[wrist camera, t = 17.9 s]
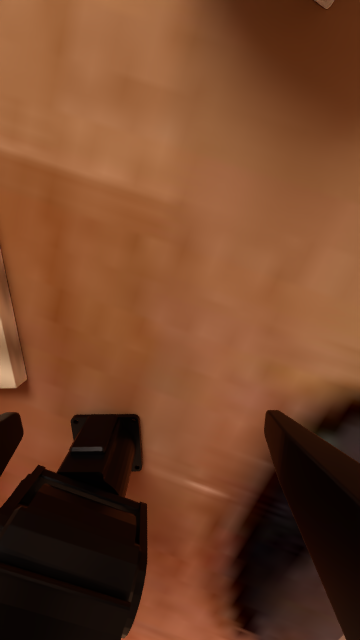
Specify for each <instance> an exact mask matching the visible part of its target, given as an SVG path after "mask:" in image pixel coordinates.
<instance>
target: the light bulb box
mask: <svg viewBox="0 0 360 640" xmlns="http://www.w3.org/2000/svg"><path fill="white" fill-rule="evenodd" d="M314 1H316V2H317V3H319V4H320V5H321V6H322V7H324V8H326V9H328V8H329V7H330V6H331V5H332V3H333V2H334V0H314Z"/></svg>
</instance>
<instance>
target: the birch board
mask: <svg viewBox="0 0 360 640" xmlns="http://www.w3.org/2000/svg"><path fill="white" fill-rule="evenodd" d="M26 380H27V375H26V370H25V365H24V360H23V355H22V351H21V346H20V341H19V336H18V331H17V326H16V322H15V317H14V312H13V307H12V302H11V297H10V293H9V288H8V283H7V278H6V273H5V268H4V264H3V259H2V254H1V249H0V388H17V387H18V386H20V385H21V384H22V383H23V382H25V381H26Z"/></svg>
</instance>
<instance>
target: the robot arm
mask: <svg viewBox="0 0 360 640" xmlns="http://www.w3.org/2000/svg"><path fill="white" fill-rule="evenodd" d="M132 419H135V420H136V421H133V420H132ZM76 420H78V421H76ZM71 427H72V433H73V439H74V442H73V443H72V445H71V447H70V449H69V452H68V454H67V455H66V457H65V459H64V461H63V462H62V464H61V466H60V467H59V469H58V471H57V473H55V472H52V471H50V470H47V469H45V468H46V467H43V466H40V465H38V466H37V467H36V468H35V470H34V471H33V472H32V473H31V474H28V475H27V477H26V478H25V479H24V480H22V481H21V482H20V483H19V485H18V486H17V488H16V489H15V490H14V492H13V493H12V495H11V496H10V497H9V498H8V500H7V501H6V502H5V503H4V504H3V506H2V507H1V508H0V640H121V638H125V637H126V636H127V635H128V633H129V631H130V629H131V627H132V624H133V622H134V619H135V616H136V613H137V610H138V607H139V603H140V599H141V595H142V591H143V586H144V581H145V575H146V567H147V504H146V503H143V502H140V503H138V502H136V501H133V500H130V499H127V498H125V495H126V491H127V487H128V482H129V478H130V474H131V471H140V470H141V469H142V449H141V434H140V419H139V416H138V415H136V414H92V415H75V416H73V418H72V419H71ZM264 434H265V438H266V441H267V444H268V448H269V451H270V454H271V457H272V460H273V464H274V467H275V470H276V473H277V476H278V479H279V482H280V484H281V487H282V489H283V492H284V494H285V497H286V499H287V501H288V504H289V506H290V508H291V511H292V513H293V515H294V518H295V520H296V522H297V525H298V527H299V530H300V532H301V534H302V537H303V539H304V541H305V544H306V546H307V548H308V551H309V553H310V556H311V558H312V560H313V563H314V565H315V567H316V570H317V572H318V574H319V577H320V579H321V581H322V584H323V586H324V589H325V591H326V593H327V596H328V598H329V600H330V603H331V605H332V607H333V610H334V612H335V615H336V617H337V619H338V622H339V624H340V626H341V629H342V631H343V633H344V636H345V638H346V640H360V463H358V462H357V461H355V460H354V459H352V458H351V457H349V456H348V455H346V454H345V453H343V452H342V451H340V450H339V449H337V448H336V447H334V446H332V445H331V444H329V443H328V442H326V441H325V440H323V439H322V438H320V437H319V436H317V435H316V434H314V433H313V432H311V431H310V430H308V429H306V428H305V427H303V426H302V425H300V424H299V423H297V422H296V421H294V420H293V419H291V418H290V417H288V416H287V415H285V414H284V413H282V412H280V411H279V410H268V411H267V412H266V416H265V426H264ZM22 437H23V427H22V422H21V418H20V415H19V413H17V412H7V413H3V414H1V415H0V476H1V475H2V473H3V471H4V469H5V468H6V466H7V464H8V462H9V461H10V459H11V457H12V455H13V454H14V452H15V450H16V448H17V446H18V445H19V443H20V441H21V439H22ZM136 465H137V466H136Z"/></svg>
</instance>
